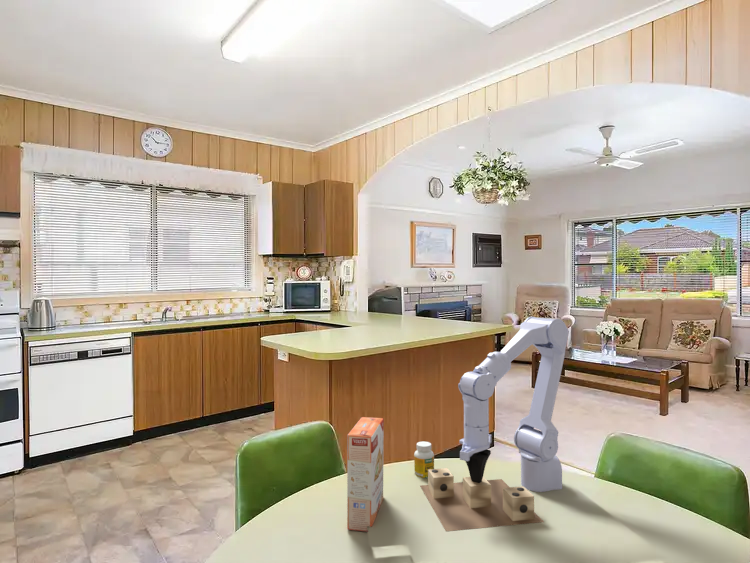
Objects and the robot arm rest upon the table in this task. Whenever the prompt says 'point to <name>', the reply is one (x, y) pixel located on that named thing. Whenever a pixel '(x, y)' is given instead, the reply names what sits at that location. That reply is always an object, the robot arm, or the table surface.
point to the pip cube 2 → (518, 503)
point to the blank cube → (476, 493)
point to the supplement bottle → (423, 459)
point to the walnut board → (473, 509)
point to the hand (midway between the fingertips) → (476, 481)
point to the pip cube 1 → (440, 483)
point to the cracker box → (364, 473)
